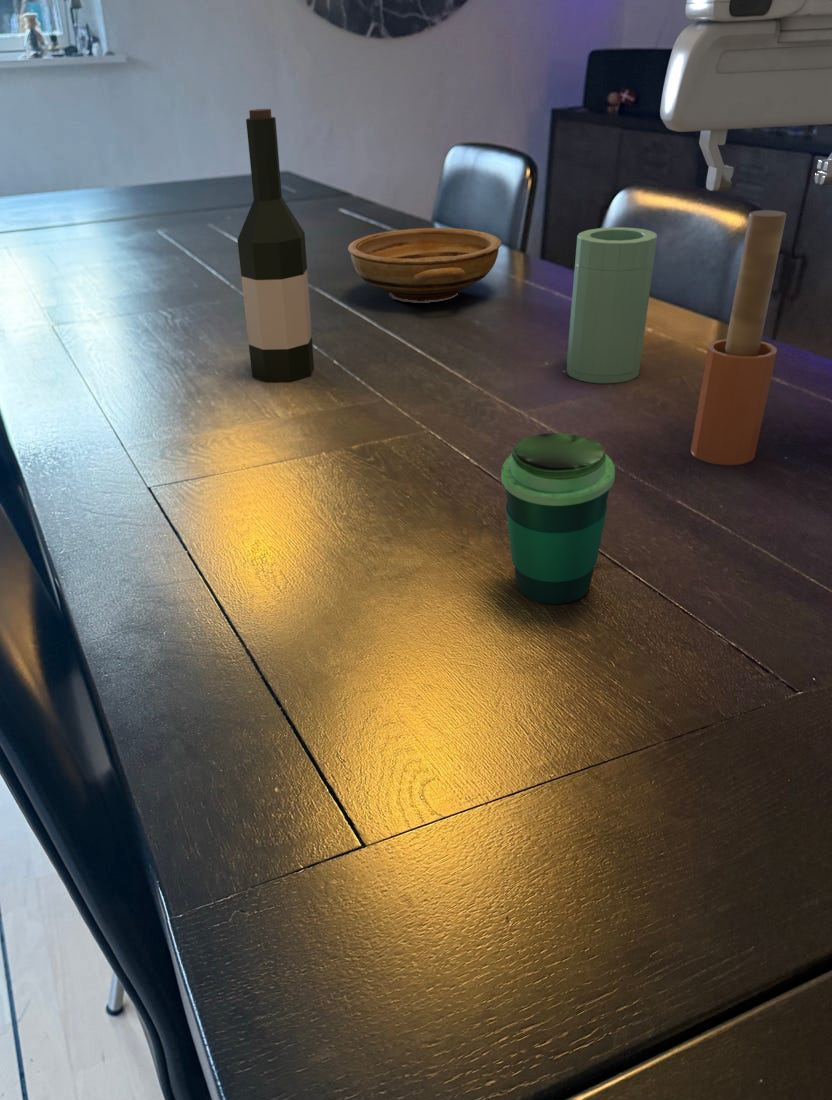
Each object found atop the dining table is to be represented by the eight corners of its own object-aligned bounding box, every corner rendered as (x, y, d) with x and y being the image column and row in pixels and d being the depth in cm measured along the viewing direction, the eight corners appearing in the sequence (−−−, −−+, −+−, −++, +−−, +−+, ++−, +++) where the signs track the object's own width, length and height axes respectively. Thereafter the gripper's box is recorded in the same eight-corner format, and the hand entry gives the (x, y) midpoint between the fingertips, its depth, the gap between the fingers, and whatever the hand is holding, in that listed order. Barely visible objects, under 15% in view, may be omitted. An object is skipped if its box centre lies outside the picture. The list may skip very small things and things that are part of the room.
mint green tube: (626, 358, 120) (642, 225, 111) (648, 381, 112) (667, 240, 103) (558, 363, 119) (569, 229, 110) (576, 385, 112) (589, 244, 103)
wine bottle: (258, 386, 117) (230, 115, 100) (246, 367, 124) (217, 110, 107) (322, 377, 119) (304, 109, 102) (306, 359, 126) (287, 104, 109)
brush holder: (738, 444, 95) (760, 336, 89) (764, 468, 90) (788, 355, 84) (681, 448, 95) (698, 340, 89) (703, 472, 90) (723, 360, 84)
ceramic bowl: (523, 312, 140) (526, 256, 135) (364, 325, 138) (362, 269, 133) (474, 268, 164) (475, 220, 160) (339, 280, 162) (336, 231, 158)
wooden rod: (734, 443, 94) (780, 207, 82) (750, 459, 91) (801, 215, 78) (695, 446, 94) (735, 210, 82) (710, 461, 91) (754, 218, 78)
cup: (619, 587, 73) (639, 443, 66) (565, 632, 68) (580, 482, 62) (532, 557, 78) (541, 420, 71) (475, 597, 73) (480, 454, 66)
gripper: (920, -17, 74) (872, 175, 82) (667, -5, 73) (643, 187, 81) (968, -20, 69) (912, 185, 77) (696, -7, 68) (668, 199, 76)
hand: (772, 186), depth 79 cm, fingers open, 8 cm apart
